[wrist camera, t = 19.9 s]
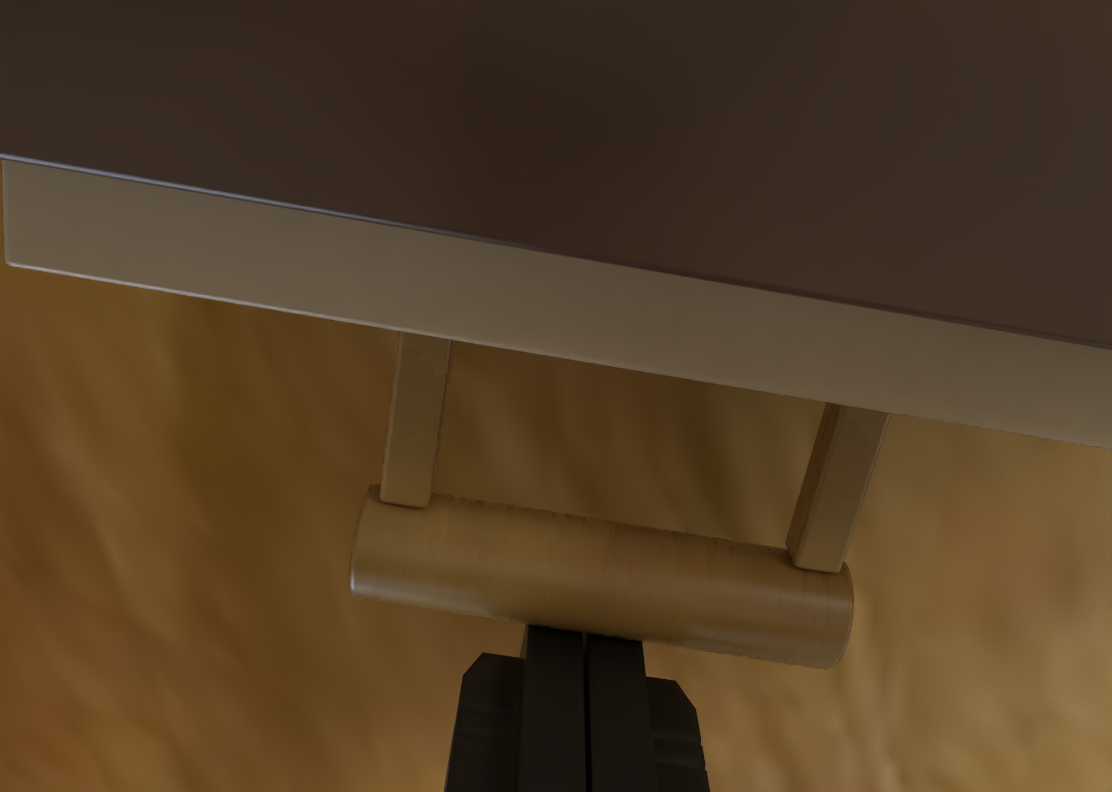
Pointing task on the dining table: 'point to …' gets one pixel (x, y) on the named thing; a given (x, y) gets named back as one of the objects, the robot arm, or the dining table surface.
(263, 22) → the cabinet
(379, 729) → the dining table surface
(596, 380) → the dining table surface
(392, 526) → the drawer
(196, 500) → the dining table surface
